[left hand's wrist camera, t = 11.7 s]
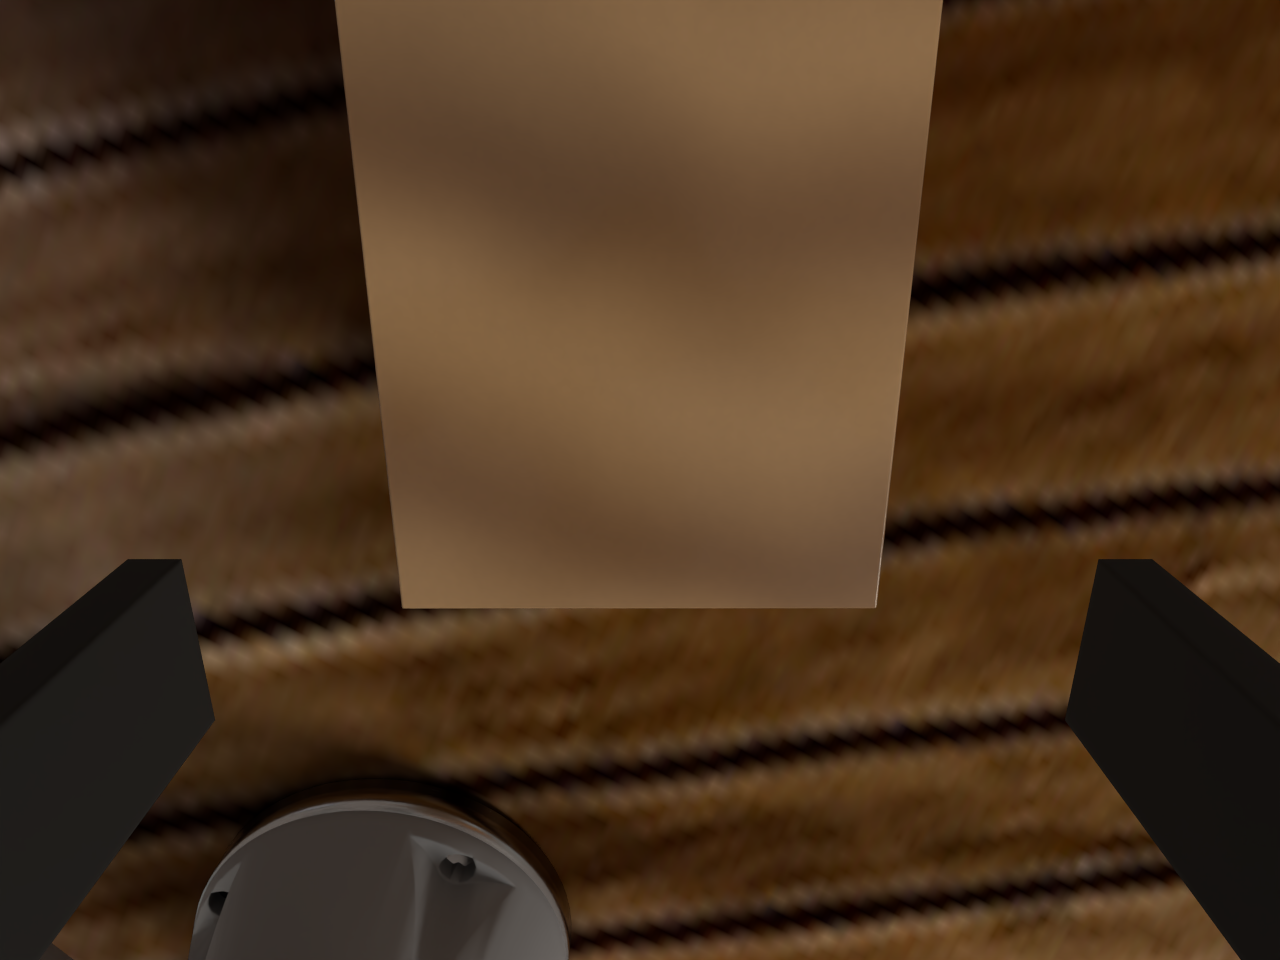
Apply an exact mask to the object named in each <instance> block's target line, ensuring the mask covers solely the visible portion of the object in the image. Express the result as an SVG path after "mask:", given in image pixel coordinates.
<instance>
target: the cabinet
mask: <svg viewBox="0 0 1280 960" xmlns="http://www.w3.org/2000/svg"><path fill="white" fill-rule="evenodd" d="M942 3H943V0H335V8H336V17H337V26H338V35H339V44H340V53H341V62H342V71H343V80H344V89H345V98H346V107H347V116H348V125H349V134H350V143H351V152H352V161H353V170H354V179H355V188H356V197H357V206H358V215H359V224H360V233H361V242H362V251H363V260H364V269H365V278H366V287H367V296H368V305H369V314H370V323H371V332H372V341H373V350H374V359H375V368H376V377H377V386H378V395H379V404H380V413H381V422H382V431H383V440H384V449H385V458H386V467H387V476H388V485H389V494H390V503H391V512H392V521H393V530H394V539H395V548H396V557H397V566H398V575H399V584H400V593H401V602H402V607H403V608H876V606H877V598H878V589H879V580H880V571H881V561H882V552H883V543H884V534H885V525H886V516H887V507H888V497H889V488H890V479H891V470H892V461H893V452H894V443H895V433H896V424H897V415H898V406H899V397H900V388H901V379H902V369H903V360H904V351H905V342H906V333H907V324H908V314H909V305H910V296H911V287H912V278H913V269H914V260H915V250H916V241H917V232H918V223H919V214H920V205H921V196H922V186H923V177H924V168H925V159H926V150H927V141H928V132H929V122H930V113H931V104H932V95H933V86H934V77H935V67H936V58H937V49H938V40H939V31H940V22H941V13H942Z"/></svg>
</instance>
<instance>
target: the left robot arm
mask: <svg viewBox="0 0 1280 960" xmlns="http://www.w3.org/2000/svg"><path fill="white" fill-rule="evenodd" d="M214 721H215V717H214V713H213V708H212V703H211V698H210V694H209V689H208V684H207V679H206V674H205V670H204V665H203V660H202V655H201V651H200V646H199V641H198V636H197V632H196V627H195V622H194V617H193V612H192V608H191V603H190V598H189V593H188V589H187V584H186V579H185V574H184V569H183V565H182V560H181V559H128V560H126V561H125V562H124V563H123V564H122V565H120V566H119V567H118V568H117V569H115V570H114V571H113V572H112V573H110V574H109V575H108V576H107V577H106V578H104V579H103V580H102V581H101V582H99V583H98V584H97V585H96V586H95V587H93V588H92V589H91V590H90V591H88V592H87V593H86V594H85V595H84V596H82V597H81V598H80V599H79V600H77V601H76V602H75V603H74V604H73V605H71V606H70V607H69V608H68V609H66V610H65V611H64V612H63V613H62V614H60V615H59V616H58V617H57V618H55V619H54V620H53V621H52V622H51V623H49V624H48V625H47V626H46V627H44V628H43V629H42V630H41V631H40V632H38V633H37V634H36V635H35V636H33V637H32V638H31V639H30V640H29V641H27V642H26V643H25V644H24V645H22V646H21V647H20V648H19V649H17V650H16V651H15V652H14V653H13V654H11V655H10V656H9V657H8V658H6V659H5V660H4V661H3V662H2V663H0V960H73V959H72V958H71V957H69V956H68V955H67V954H65V953H64V952H63V951H61V950H60V949H59V948H57V947H56V946H55V945H53V944H52V942H53V940H54V939H55V937H56V936H57V935H58V933H59V932H60V931H61V929H62V928H63V927H64V925H65V924H66V922H67V921H68V920H69V918H70V917H71V916H72V914H73V913H74V912H75V910H76V909H77V907H78V906H79V905H80V903H81V902H82V901H83V899H84V898H85V897H86V895H87V894H88V892H89V891H90V890H91V888H92V887H93V886H94V884H95V883H96V882H97V880H98V879H99V877H100V876H101V875H102V873H103V872H104V871H105V869H106V868H107V867H108V865H109V864H110V862H111V861H112V860H113V858H114V857H115V856H116V854H117V853H118V852H119V850H120V849H121V847H122V846H123V845H124V843H125V842H126V841H127V839H128V838H129V837H130V835H131V834H132V833H133V831H134V830H135V828H136V827H137V826H138V824H139V823H140V822H141V820H142V819H143V818H144V816H145V815H146V813H147V812H148V811H149V809H150V808H151V807H152V805H153V804H154V803H155V801H156V800H157V798H158V797H159V796H160V794H161V793H162V792H163V790H164V789H165V788H166V786H167V785H168V783H169V782H170V781H171V779H172V778H173V777H174V775H175V774H176V773H177V771H178V770H179V768H180V767H181V766H182V764H183V763H184V762H185V760H186V759H187V758H188V756H189V755H190V753H191V752H192V751H193V749H194V748H195V747H196V745H197V744H198V743H199V741H200V740H201V738H202V737H203V736H204V734H205V733H206V732H207V730H208V729H209V728H210V726H211V725H212V723H213V722H214ZM1065 721H1066V722H1067V723H1068V725H1069V726H1070V728H1071V729H1072V730H1073V732H1074V733H1075V734H1076V736H1077V737H1078V738H1079V740H1080V741H1081V743H1082V744H1083V745H1084V747H1085V748H1086V749H1087V751H1088V752H1089V753H1090V755H1091V756H1092V758H1093V759H1094V760H1095V762H1096V763H1097V764H1098V766H1099V767H1100V768H1101V770H1102V771H1103V773H1104V774H1105V775H1106V777H1107V778H1108V779H1109V781H1110V782H1111V783H1112V785H1113V786H1114V788H1115V789H1116V790H1117V792H1118V793H1119V794H1120V796H1121V797H1122V798H1123V800H1124V801H1125V803H1126V804H1127V805H1128V807H1129V808H1130V809H1131V811H1132V812H1133V813H1134V815H1135V816H1136V818H1137V819H1138V820H1139V822H1140V823H1141V824H1142V826H1143V827H1144V828H1145V830H1146V831H1147V833H1148V834H1149V835H1150V837H1151V838H1152V839H1153V841H1154V842H1155V843H1156V845H1157V846H1158V847H1159V849H1160V850H1161V852H1162V853H1163V854H1164V856H1165V857H1166V858H1167V860H1168V861H1169V862H1170V864H1171V865H1172V867H1173V868H1174V869H1175V871H1176V872H1177V873H1178V875H1179V876H1180V877H1181V879H1182V880H1183V882H1184V883H1185V884H1186V886H1187V887H1188V888H1189V890H1190V891H1191V892H1192V894H1193V895H1194V897H1195V898H1196V899H1197V901H1198V902H1199V903H1200V905H1201V906H1202V907H1203V909H1204V910H1205V912H1206V913H1207V914H1208V916H1209V917H1210V918H1211V920H1212V921H1213V922H1214V924H1215V925H1216V927H1217V928H1218V929H1219V931H1220V932H1221V933H1222V935H1223V936H1224V937H1225V939H1226V940H1227V942H1228V943H1229V944H1230V946H1231V947H1232V948H1233V950H1234V951H1235V952H1236V954H1237V955H1238V957H1239V958H1240V959H1241V960H1280V663H1278V662H1277V661H1276V660H1275V659H1274V658H1272V657H1271V656H1270V655H1269V654H1267V653H1266V652H1265V651H1264V650H1263V649H1261V648H1260V647H1259V646H1258V645H1256V644H1255V643H1254V642H1253V641H1251V640H1250V639H1249V638H1248V637H1247V636H1245V635H1244V634H1243V633H1242V632H1240V631H1239V630H1238V629H1237V628H1236V627H1234V626H1233V625H1232V624H1231V623H1229V622H1228V621H1227V620H1226V619H1225V618H1223V617H1222V616H1221V615H1220V614H1218V613H1217V612H1216V611H1215V610H1214V609H1212V608H1211V607H1210V606H1209V605H1207V604H1206V603H1205V602H1204V601H1203V600H1201V599H1200V598H1199V597H1198V596H1196V595H1195V594H1194V593H1193V592H1192V591H1190V590H1189V589H1188V588H1187V587H1185V586H1184V585H1183V584H1182V583H1181V582H1179V581H1178V580H1177V579H1176V578H1174V577H1173V576H1172V575H1171V574H1170V573H1168V572H1167V571H1166V570H1165V569H1163V568H1162V567H1161V566H1160V565H1158V564H1157V563H1156V562H1155V561H1154V560H1152V559H1099V560H1098V565H1097V569H1096V574H1095V579H1094V584H1093V589H1092V593H1091V598H1090V603H1089V608H1088V612H1087V617H1086V622H1085V627H1084V632H1083V636H1082V641H1081V646H1080V651H1079V655H1078V660H1077V665H1076V670H1075V674H1074V679H1073V684H1072V689H1071V694H1070V698H1069V703H1068V708H1067V713H1066V717H1065ZM570 940H571V915H570V908H569V903H568V899H567V895H566V893H565V890H564V887H563V885H562V882H561V880H560V878H559V876H558V874H557V872H556V870H555V869H554V867H553V866H552V864H551V863H550V861H549V860H548V858H547V857H546V856H545V854H544V853H543V852H542V851H541V849H540V848H539V847H538V846H537V845H536V844H535V843H534V842H533V841H532V840H531V839H530V838H529V837H528V836H527V835H526V834H525V833H524V832H523V831H522V830H520V829H519V828H518V827H517V826H516V825H514V824H513V823H512V822H510V821H509V820H507V819H506V818H504V817H503V816H501V815H500V814H499V813H497V812H495V811H493V810H492V809H490V808H488V807H486V806H484V805H483V804H481V803H478V802H476V801H474V800H472V799H470V798H468V797H465V796H462V795H460V794H457V793H454V792H452V791H449V790H445V789H442V788H438V787H435V786H431V785H426V784H421V783H416V782H410V781H402V780H393V779H355V780H347V781H339V782H333V783H329V784H324V785H319V786H316V787H313V788H309V789H306V790H303V791H300V792H298V793H296V794H293V795H291V796H288V797H286V798H284V799H282V800H280V801H278V802H277V803H275V804H273V805H271V806H270V807H268V808H267V809H265V810H264V811H262V812H261V813H259V814H258V815H257V816H256V817H255V818H253V819H252V820H251V821H250V822H249V823H247V825H246V826H245V827H244V828H243V829H242V830H241V831H240V832H239V833H238V834H237V836H236V837H235V838H234V840H233V841H232V842H231V844H230V845H229V847H228V849H227V850H226V852H225V854H224V855H223V857H222V859H221V861H220V862H219V864H218V866H217V867H216V869H215V871H214V873H213V874H212V876H211V878H210V880H209V881H208V883H207V885H206V887H205V889H204V891H203V893H202V896H201V899H200V901H199V904H198V909H197V913H196V919H195V923H194V929H193V935H192V941H191V946H190V952H189V958H188V960H569V952H570Z"/></svg>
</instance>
